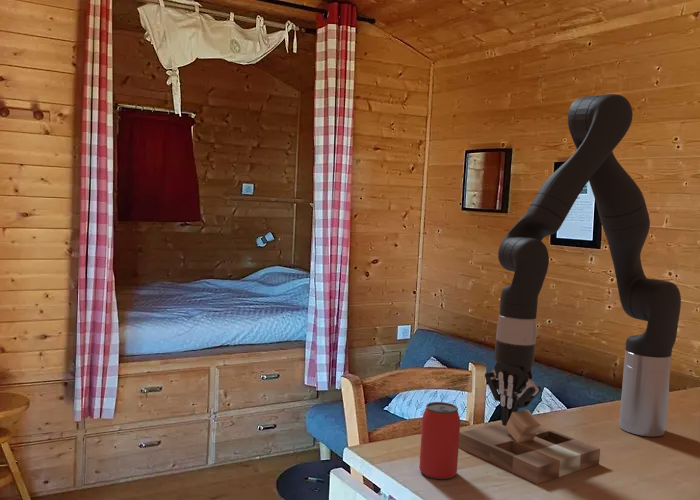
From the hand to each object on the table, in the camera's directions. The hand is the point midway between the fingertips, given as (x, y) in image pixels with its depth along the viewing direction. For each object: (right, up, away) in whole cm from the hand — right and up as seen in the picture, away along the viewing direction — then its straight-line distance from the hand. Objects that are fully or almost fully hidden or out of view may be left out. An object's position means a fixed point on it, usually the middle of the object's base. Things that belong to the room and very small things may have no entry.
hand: (508, 425), depth 131 cm
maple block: (+1, -1, -3) cm, 3 cm away
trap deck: (+3, -5, -3) cm, 7 cm away
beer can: (-16, -5, -14) cm, 21 cm away
